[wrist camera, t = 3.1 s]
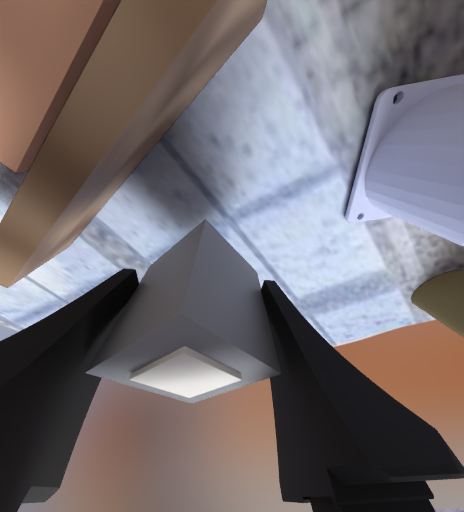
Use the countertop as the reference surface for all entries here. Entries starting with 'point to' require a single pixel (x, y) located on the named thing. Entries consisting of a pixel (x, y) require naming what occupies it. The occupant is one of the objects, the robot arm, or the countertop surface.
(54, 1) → the terracotta tile
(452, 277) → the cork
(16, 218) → the walnut screen
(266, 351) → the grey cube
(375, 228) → the countertop surface
